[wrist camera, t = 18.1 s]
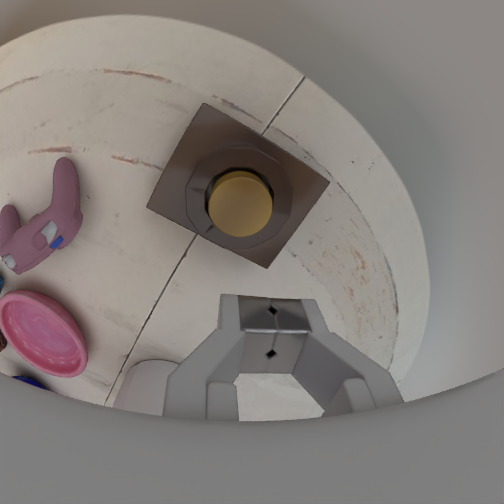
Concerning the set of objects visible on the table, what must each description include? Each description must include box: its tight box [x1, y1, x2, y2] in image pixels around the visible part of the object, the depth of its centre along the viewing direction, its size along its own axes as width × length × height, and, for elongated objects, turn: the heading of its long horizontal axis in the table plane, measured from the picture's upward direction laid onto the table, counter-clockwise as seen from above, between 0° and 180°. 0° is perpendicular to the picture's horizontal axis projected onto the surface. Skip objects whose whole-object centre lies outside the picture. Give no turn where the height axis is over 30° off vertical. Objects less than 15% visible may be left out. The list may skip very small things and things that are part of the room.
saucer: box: [0, 290, 88, 378], centre depth 24 cm, size 12×12×3 cm
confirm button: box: [208, 171, 272, 237], centre depth 16 cm, size 4×4×2 cm
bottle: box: [112, 360, 179, 416], centre depth 19 cm, size 11×11×25 cm
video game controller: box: [0, 157, 83, 274], centre depth 17 cm, size 10×5×7 cm, turn 111°
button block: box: [146, 103, 330, 269], centre depth 19 cm, size 10×8×4 cm
